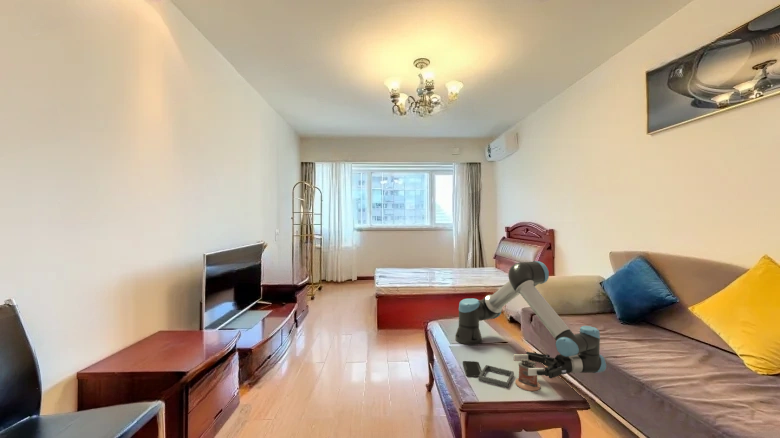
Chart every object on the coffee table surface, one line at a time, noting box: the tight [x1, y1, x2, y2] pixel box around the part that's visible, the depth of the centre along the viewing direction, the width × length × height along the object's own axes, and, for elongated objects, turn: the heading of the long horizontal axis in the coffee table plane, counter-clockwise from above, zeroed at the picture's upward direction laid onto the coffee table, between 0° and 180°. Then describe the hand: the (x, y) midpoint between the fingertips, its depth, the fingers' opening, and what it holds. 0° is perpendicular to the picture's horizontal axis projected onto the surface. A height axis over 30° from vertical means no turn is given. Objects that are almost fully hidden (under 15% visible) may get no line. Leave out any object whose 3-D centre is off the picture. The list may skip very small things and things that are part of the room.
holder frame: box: [478, 364, 515, 389], centre depth 150 cm, size 13×13×2 cm
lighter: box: [518, 359, 538, 387], centre depth 145 cm, size 8×3×10 cm, turn 45°
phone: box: [462, 360, 483, 379], centre depth 158 cm, size 8×1×15 cm
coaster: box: [514, 377, 541, 392], centre depth 145 cm, size 10×10×1 cm
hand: (520, 364), depth 144 cm, fingers open, 13 cm apart
